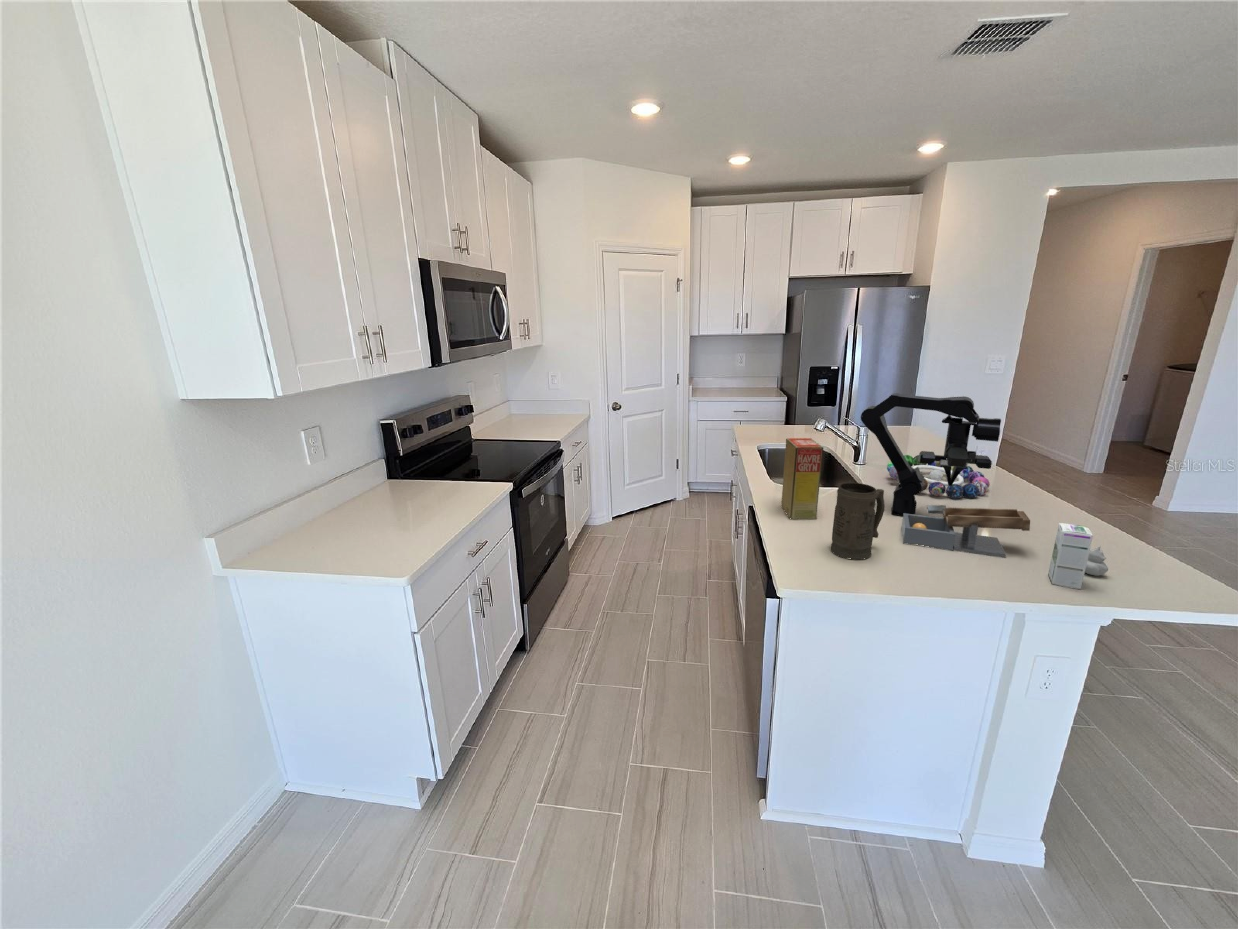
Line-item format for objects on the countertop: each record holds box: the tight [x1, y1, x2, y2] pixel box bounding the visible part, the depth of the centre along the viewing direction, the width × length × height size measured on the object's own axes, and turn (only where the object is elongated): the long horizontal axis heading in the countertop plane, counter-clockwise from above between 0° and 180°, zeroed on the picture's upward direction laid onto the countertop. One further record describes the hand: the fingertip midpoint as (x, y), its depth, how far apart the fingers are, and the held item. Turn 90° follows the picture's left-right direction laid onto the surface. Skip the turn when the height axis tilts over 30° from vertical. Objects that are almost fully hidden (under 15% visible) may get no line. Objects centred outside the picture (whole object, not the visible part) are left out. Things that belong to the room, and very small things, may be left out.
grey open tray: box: [900, 513, 956, 551], centre depth 151 cm, size 12×12×5 cm
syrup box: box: [1047, 522, 1094, 590], centre depth 124 cm, size 6×6×14 cm
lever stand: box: [953, 524, 1007, 559], centre depth 145 cm, size 12×12×8 cm
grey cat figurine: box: [1085, 545, 1109, 577], centre depth 128 cm, size 5×7×8 cm
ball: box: [912, 523, 927, 529], centre depth 152 cm, size 4×4×4 cm
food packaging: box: [780, 437, 824, 520], centre depth 171 cm, size 13×9×25 cm
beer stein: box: [830, 482, 885, 560], centre depth 143 cm, size 15×11×20 cm
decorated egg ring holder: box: [886, 454, 991, 500], centre depth 197 cm, size 35×35×9 cm
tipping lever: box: [926, 504, 1031, 532], centre depth 148 cm, size 23×16×4 cm
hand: (949, 485), depth 161 cm, fingers closed
